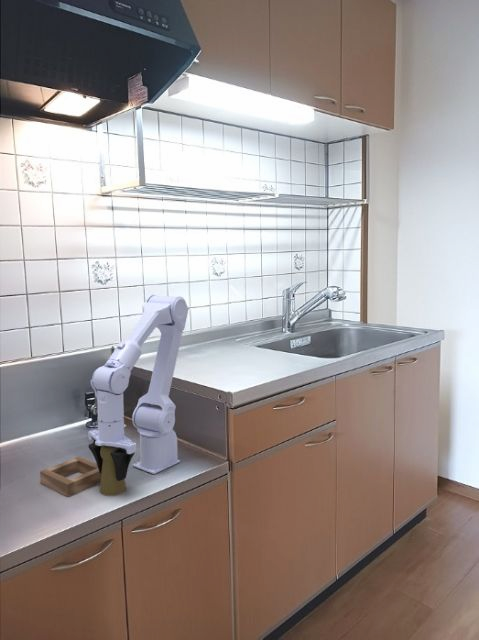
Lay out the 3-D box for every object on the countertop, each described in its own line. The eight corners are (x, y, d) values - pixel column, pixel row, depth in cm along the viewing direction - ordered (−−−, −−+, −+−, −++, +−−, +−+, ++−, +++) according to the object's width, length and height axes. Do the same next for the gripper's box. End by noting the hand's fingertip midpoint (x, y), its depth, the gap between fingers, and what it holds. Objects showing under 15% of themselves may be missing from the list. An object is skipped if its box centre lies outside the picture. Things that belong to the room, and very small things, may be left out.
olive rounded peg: (105, 498, 111) (103, 451, 110) (95, 487, 116) (94, 442, 115) (130, 491, 115) (129, 445, 113) (120, 481, 120) (119, 437, 118)
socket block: (80, 467, 127) (79, 456, 127) (107, 479, 120) (107, 467, 120) (40, 483, 118) (40, 471, 118) (68, 497, 112) (67, 484, 111)
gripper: (76, 416, 114) (78, 473, 116) (117, 430, 106) (119, 491, 107) (101, 409, 120) (103, 463, 122) (142, 421, 111) (144, 479, 113)
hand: (112, 475), depth 115 cm, fingers open, 6 cm apart
